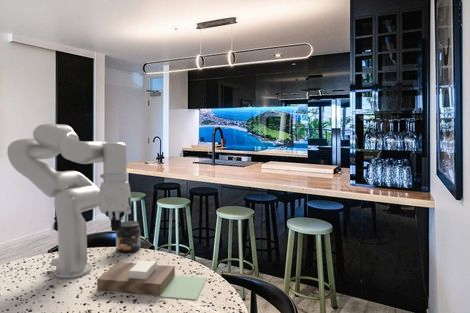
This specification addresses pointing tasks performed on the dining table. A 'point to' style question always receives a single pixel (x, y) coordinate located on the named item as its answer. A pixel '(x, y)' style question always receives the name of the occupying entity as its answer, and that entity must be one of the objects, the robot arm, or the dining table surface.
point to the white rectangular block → (142, 269)
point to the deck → (135, 280)
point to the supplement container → (128, 237)
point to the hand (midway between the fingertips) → (116, 230)
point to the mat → (184, 287)
